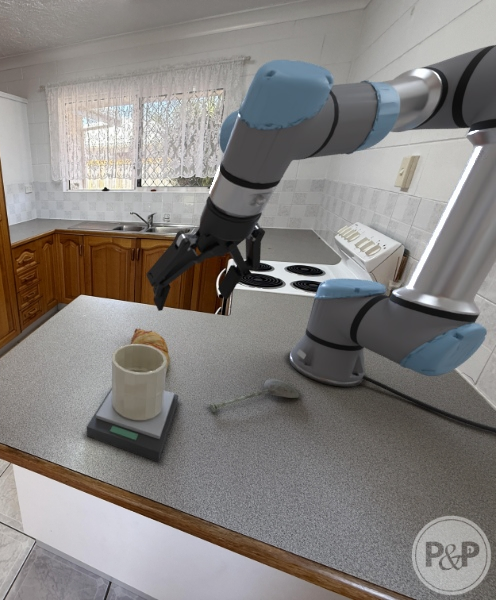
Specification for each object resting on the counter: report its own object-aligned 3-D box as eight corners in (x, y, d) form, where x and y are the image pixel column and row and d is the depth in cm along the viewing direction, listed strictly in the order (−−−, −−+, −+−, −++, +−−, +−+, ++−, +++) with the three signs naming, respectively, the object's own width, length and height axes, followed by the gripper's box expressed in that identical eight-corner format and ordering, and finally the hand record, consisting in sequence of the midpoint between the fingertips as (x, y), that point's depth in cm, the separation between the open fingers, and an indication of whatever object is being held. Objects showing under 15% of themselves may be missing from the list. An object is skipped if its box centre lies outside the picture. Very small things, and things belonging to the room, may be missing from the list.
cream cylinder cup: (167, 395, 65) (171, 350, 61) (154, 429, 57) (158, 380, 53) (122, 382, 69) (123, 339, 65) (103, 412, 61) (103, 365, 57)
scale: (177, 403, 67) (178, 391, 66) (158, 462, 54) (159, 448, 53) (117, 386, 73) (117, 375, 72) (86, 436, 60) (86, 423, 58)
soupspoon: (305, 401, 68) (280, 384, 74) (309, 388, 67) (283, 372, 73) (220, 421, 62) (201, 401, 68) (223, 407, 61) (203, 388, 67)
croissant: (172, 390, 77) (190, 364, 74) (139, 379, 73) (156, 352, 71) (144, 344, 96) (157, 323, 93) (116, 334, 92) (129, 312, 90)
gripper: (160, 230, 38) (135, 326, 55) (329, 209, 43) (258, 303, 59) (140, 196, 43) (122, 294, 59) (295, 180, 47) (238, 275, 64)
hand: (191, 299), depth 59 cm, fingers open, 13 cm apart
